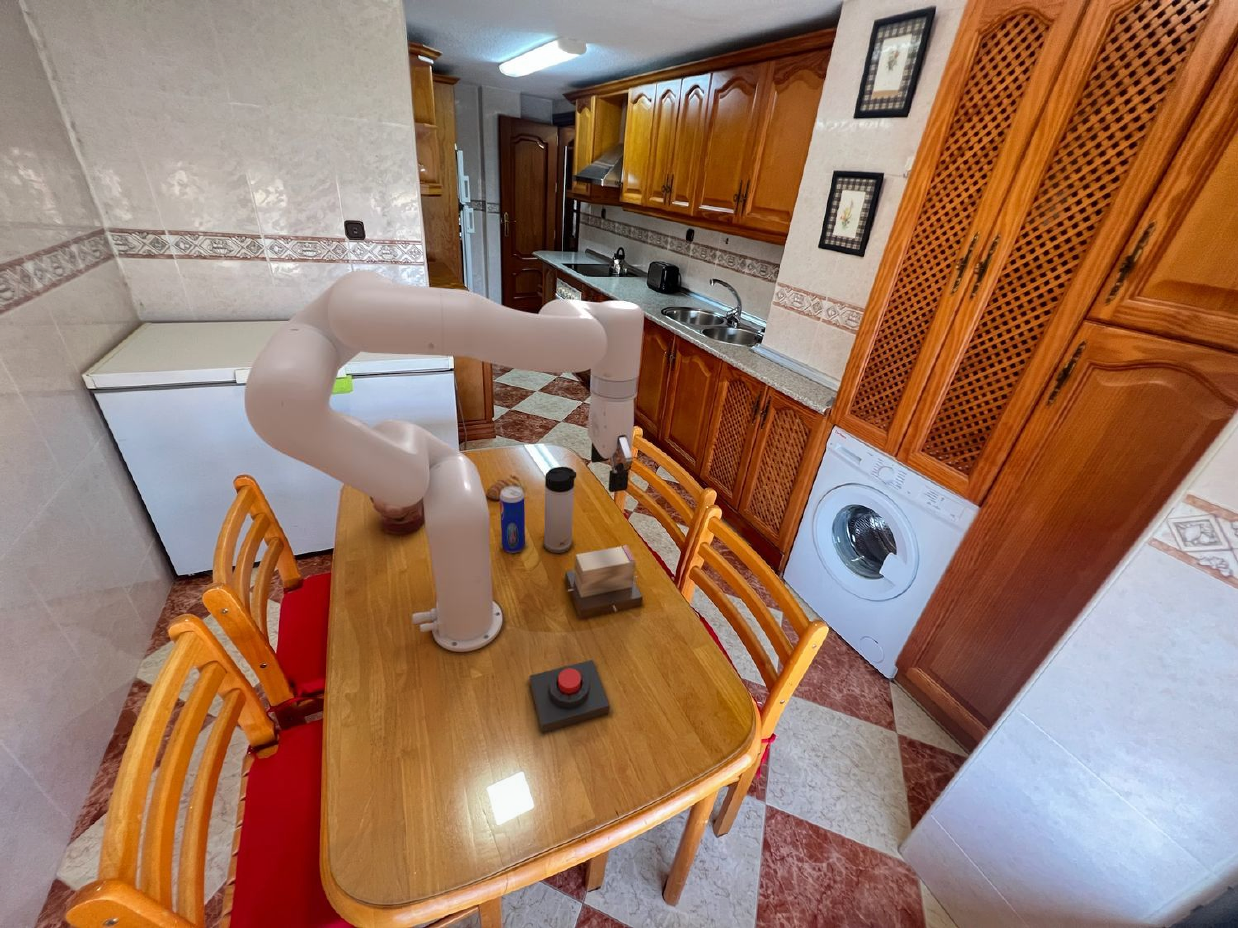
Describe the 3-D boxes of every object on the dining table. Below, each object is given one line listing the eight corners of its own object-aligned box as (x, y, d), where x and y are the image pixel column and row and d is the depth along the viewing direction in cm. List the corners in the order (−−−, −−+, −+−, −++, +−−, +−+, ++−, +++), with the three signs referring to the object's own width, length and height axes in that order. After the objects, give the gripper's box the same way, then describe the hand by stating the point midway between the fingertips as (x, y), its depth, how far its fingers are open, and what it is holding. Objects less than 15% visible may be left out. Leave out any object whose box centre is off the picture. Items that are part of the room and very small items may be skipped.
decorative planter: (374, 499, 123) (365, 450, 116) (426, 491, 128) (420, 444, 121) (375, 549, 108) (364, 497, 101) (435, 539, 113) (428, 488, 106)
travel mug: (568, 556, 111) (571, 481, 101) (540, 550, 112) (540, 476, 102) (576, 539, 117) (580, 467, 107) (549, 533, 118) (550, 461, 107)
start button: (561, 697, 78) (561, 690, 77) (555, 678, 81) (555, 671, 80) (583, 691, 79) (583, 684, 78) (576, 672, 82) (577, 665, 81)
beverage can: (497, 549, 111) (494, 494, 104) (510, 536, 116) (508, 482, 108) (517, 556, 110) (515, 501, 102) (529, 543, 114) (528, 489, 106)
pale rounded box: (581, 597, 98) (582, 570, 94) (574, 580, 102) (575, 553, 98) (632, 587, 101) (636, 560, 98) (623, 570, 105) (627, 544, 102)
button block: (541, 733, 76) (541, 718, 74) (529, 683, 83) (529, 668, 81) (608, 713, 80) (610, 698, 78) (592, 667, 87) (593, 652, 85)
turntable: (577, 628, 94) (578, 619, 93) (557, 574, 106) (558, 565, 105) (650, 612, 99) (651, 602, 98) (623, 562, 111) (624, 553, 110)
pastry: (497, 505, 125) (496, 493, 124) (481, 494, 129) (480, 482, 127) (526, 491, 132) (525, 479, 130) (509, 481, 135) (509, 469, 134)
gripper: (576, 366, 84) (574, 453, 93) (609, 408, 70) (603, 506, 79) (617, 363, 86) (612, 449, 95) (658, 404, 72) (647, 499, 81)
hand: (608, 475), depth 87 cm, fingers open, 9 cm apart
